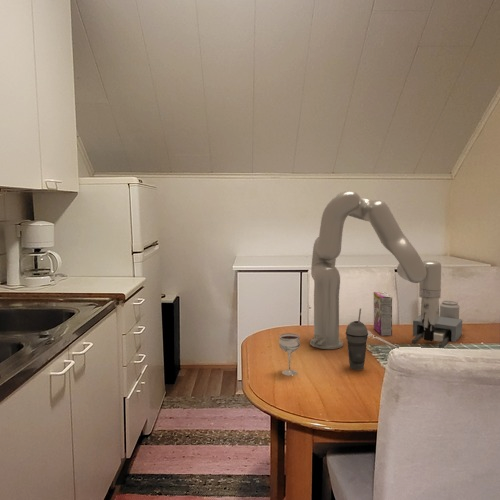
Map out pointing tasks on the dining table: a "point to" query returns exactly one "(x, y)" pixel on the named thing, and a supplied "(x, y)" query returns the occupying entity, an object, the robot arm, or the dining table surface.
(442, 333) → the cream rectangular block
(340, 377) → the dining table surface
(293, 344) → the wineglass
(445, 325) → the low shelf
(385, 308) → the candy bar box
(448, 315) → the can
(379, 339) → the fork
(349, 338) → the beverage cup
